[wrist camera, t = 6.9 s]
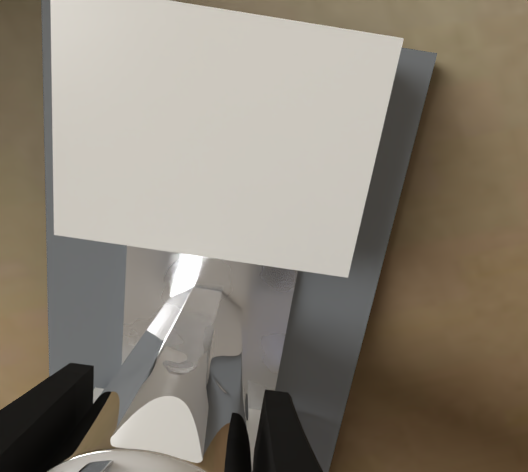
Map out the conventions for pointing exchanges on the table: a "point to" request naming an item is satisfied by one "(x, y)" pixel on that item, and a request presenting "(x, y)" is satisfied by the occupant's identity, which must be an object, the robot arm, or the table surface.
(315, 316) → the rail board
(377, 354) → the table surface
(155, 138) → the block
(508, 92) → the table surface
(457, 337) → the table surface
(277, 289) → the rail
